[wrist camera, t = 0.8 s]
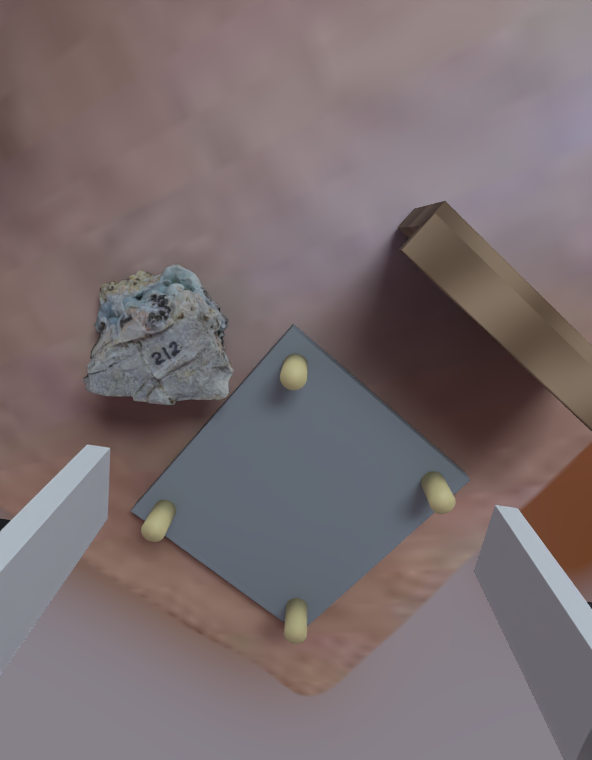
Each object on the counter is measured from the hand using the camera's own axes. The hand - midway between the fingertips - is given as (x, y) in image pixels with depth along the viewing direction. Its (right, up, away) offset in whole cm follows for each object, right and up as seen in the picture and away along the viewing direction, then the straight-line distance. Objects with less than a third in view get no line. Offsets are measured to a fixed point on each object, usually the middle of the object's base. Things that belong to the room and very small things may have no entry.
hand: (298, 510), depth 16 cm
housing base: (0, -4, +23) cm, 23 cm away
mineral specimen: (-9, +8, +20) cm, 23 cm away
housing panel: (+13, +10, +18) cm, 24 cm away
